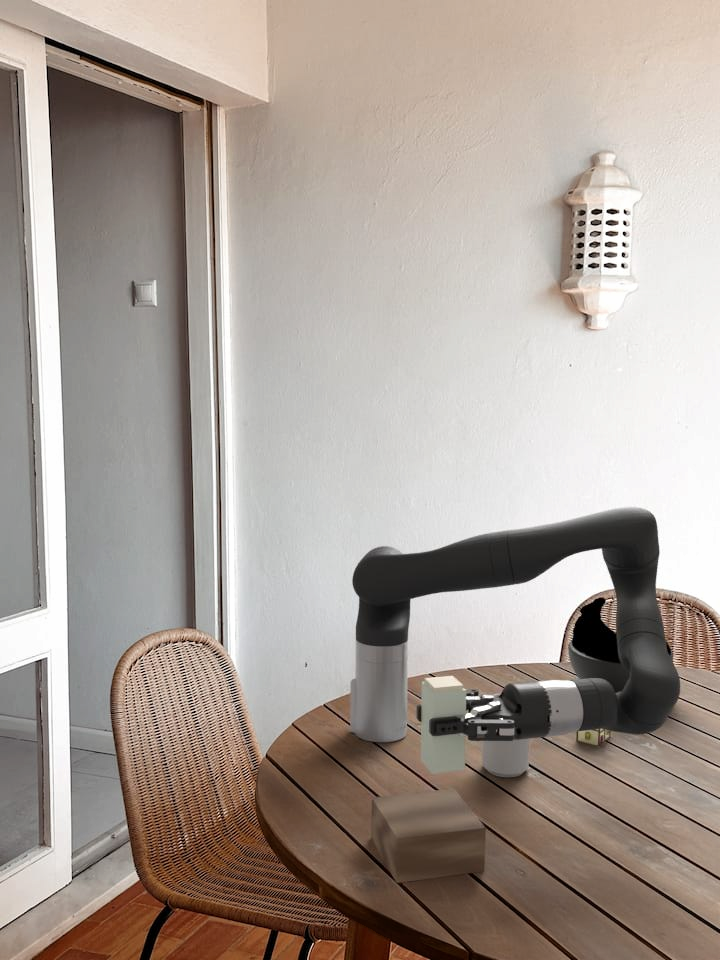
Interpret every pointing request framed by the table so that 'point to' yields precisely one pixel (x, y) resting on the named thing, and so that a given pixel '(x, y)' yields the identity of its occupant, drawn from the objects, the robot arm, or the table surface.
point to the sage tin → (438, 702)
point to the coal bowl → (597, 648)
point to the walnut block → (427, 835)
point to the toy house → (594, 736)
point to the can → (506, 756)
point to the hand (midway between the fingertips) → (424, 720)
